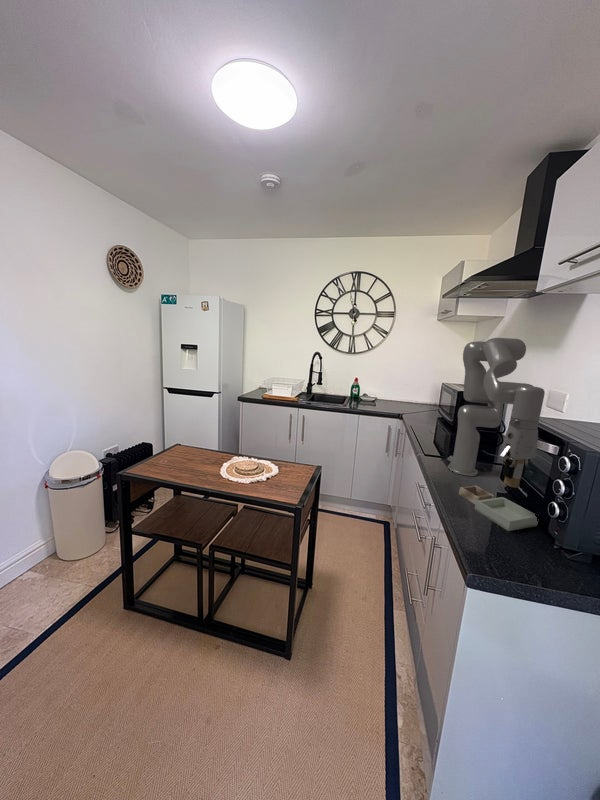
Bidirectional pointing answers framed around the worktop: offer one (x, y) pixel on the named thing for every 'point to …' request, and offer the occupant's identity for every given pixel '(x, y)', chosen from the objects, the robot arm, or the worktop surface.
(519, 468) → the sprinkles bottle
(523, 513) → the tray
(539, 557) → the worktop surface
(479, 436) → the robot arm
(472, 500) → the collar
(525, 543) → the worktop surface
